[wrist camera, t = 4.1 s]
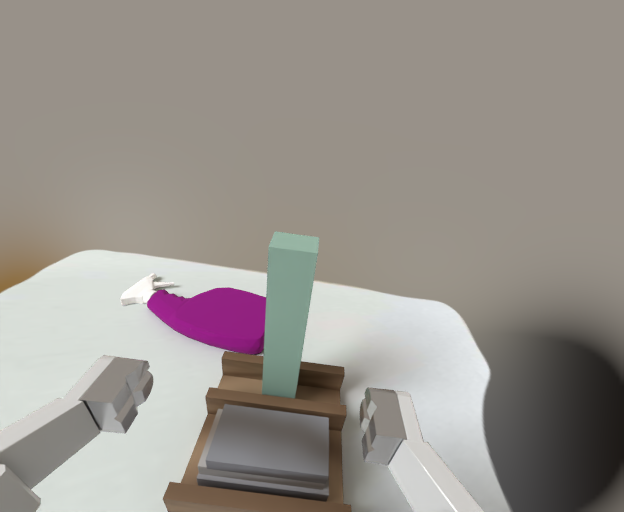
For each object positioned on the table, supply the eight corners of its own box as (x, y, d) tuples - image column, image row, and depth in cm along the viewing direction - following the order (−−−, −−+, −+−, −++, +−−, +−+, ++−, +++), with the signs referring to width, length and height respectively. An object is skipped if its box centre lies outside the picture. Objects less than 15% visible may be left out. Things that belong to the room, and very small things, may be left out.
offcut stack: (326, 502, 23) (334, 480, 20) (198, 485, 23) (192, 461, 20) (326, 438, 27) (334, 413, 25) (219, 424, 27) (216, 398, 25)
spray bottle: (257, 364, 36) (104, 316, 40) (285, 311, 45) (158, 277, 49) (257, 349, 34) (98, 301, 38) (286, 298, 43) (155, 263, 47)
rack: (340, 541, 22) (351, 522, 20) (171, 519, 22) (162, 498, 19) (337, 388, 34) (343, 365, 31) (226, 373, 33) (225, 349, 31)
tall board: (293, 410, 29) (317, 253, 19) (261, 405, 29) (268, 246, 19) (295, 388, 31) (319, 237, 21) (266, 384, 31) (275, 231, 21)
